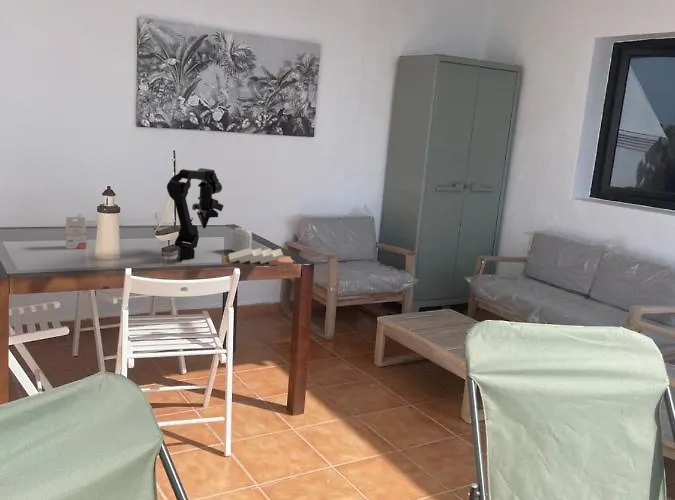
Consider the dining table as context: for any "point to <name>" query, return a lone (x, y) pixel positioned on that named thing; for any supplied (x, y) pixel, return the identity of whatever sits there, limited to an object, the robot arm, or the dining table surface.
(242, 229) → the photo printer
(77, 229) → the ink cartridge box
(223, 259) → the walnut board
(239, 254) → the domino
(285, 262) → the domino
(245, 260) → the domino
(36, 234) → the dining table surface
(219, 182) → the robot arm
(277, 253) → the domino
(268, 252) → the domino
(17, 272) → the dining table surface
